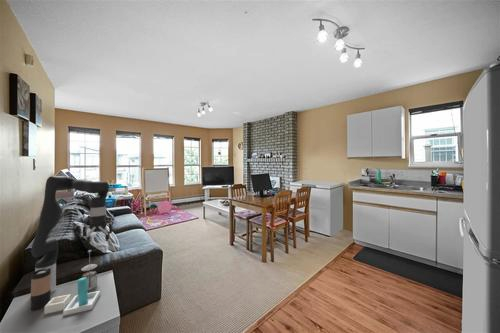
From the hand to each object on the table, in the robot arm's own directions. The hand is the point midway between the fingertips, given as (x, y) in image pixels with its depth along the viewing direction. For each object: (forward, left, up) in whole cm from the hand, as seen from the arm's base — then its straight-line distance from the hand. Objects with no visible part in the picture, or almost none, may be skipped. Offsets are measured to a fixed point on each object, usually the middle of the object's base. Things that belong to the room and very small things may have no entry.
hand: (98, 241), depth 115 cm
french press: (-9, +16, -34) cm, 39 cm away
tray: (-6, -3, -34) cm, 35 cm away
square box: (-18, 0, -34) cm, 39 cm away
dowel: (-6, -3, -33) cm, 33 cm away
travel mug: (-28, +6, -34) cm, 45 cm away
